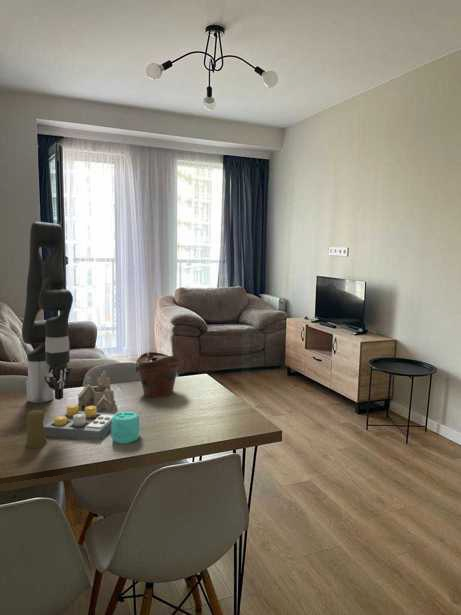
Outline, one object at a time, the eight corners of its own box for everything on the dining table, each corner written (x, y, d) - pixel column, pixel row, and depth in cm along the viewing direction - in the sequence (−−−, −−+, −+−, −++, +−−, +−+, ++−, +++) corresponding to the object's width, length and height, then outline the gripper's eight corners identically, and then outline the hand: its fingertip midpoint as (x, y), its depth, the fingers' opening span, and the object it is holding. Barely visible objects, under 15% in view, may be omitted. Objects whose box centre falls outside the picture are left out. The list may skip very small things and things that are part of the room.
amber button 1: (52, 428, 152) (51, 419, 152) (58, 424, 156) (58, 415, 156) (63, 429, 152) (62, 420, 151) (69, 424, 156) (69, 416, 155)
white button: (71, 425, 151) (70, 417, 151) (77, 421, 155) (76, 413, 155) (82, 426, 150) (81, 418, 150) (88, 422, 154) (87, 414, 154)
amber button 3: (82, 417, 159) (82, 409, 158) (88, 413, 163) (88, 405, 162) (93, 418, 158) (93, 410, 158) (98, 414, 162) (98, 406, 162)
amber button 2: (64, 416, 160) (64, 407, 160) (70, 412, 164) (70, 404, 164) (75, 416, 159) (74, 408, 159) (80, 412, 163) (80, 404, 163)
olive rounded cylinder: (30, 440, 147) (28, 407, 146) (49, 439, 148) (47, 407, 146) (23, 448, 141) (21, 414, 140) (43, 447, 142) (41, 414, 140)
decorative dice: (136, 443, 145) (136, 419, 144) (111, 444, 145) (110, 420, 144) (139, 433, 153) (139, 411, 152) (115, 434, 153) (115, 411, 152)
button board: (43, 435, 151) (43, 424, 151) (68, 418, 167) (68, 408, 166) (99, 440, 148) (98, 429, 147) (119, 422, 163) (119, 412, 163)
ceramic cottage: (78, 404, 181) (78, 368, 179) (120, 404, 183) (120, 369, 180) (69, 421, 166) (68, 382, 163) (114, 421, 168) (114, 383, 165)
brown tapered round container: (142, 385, 208) (142, 347, 206) (184, 387, 206) (184, 349, 203) (128, 398, 191) (127, 356, 188) (174, 400, 188) (174, 359, 186)
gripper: (58, 344, 158) (59, 392, 160) (35, 352, 145) (37, 404, 147) (77, 345, 156) (79, 393, 159) (56, 354, 143) (58, 406, 146)
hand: (59, 398), depth 153 cm, fingers closed
